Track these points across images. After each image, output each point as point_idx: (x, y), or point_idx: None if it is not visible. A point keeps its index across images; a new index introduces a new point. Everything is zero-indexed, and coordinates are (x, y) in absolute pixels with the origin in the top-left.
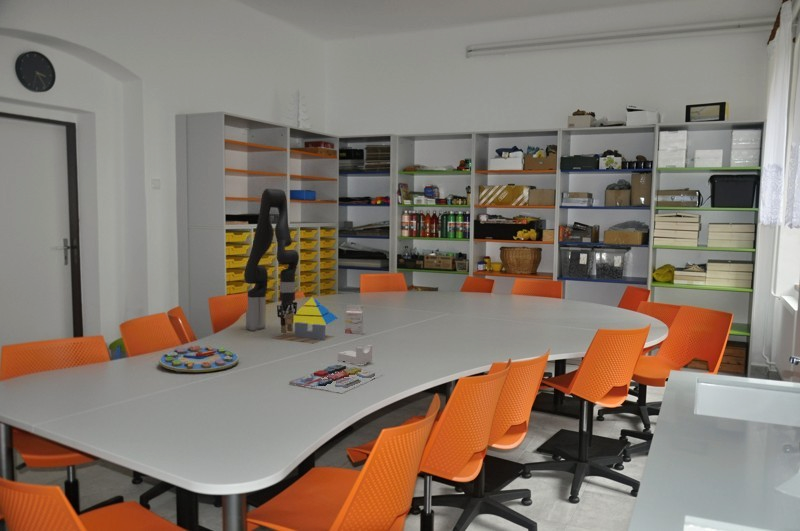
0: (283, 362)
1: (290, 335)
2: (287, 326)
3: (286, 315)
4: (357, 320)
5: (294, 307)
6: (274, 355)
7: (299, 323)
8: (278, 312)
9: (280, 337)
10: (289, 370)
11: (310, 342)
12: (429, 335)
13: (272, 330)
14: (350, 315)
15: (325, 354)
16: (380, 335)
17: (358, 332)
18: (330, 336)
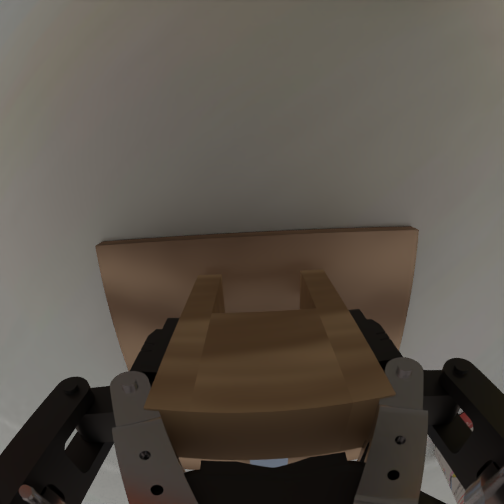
0: (5, 432)
1: (274, 305)
2: (309, 292)
3: (197, 449)
4: (454, 488)
5: (469, 470)
6: (3, 399)
7: (250, 462)
8: (35, 438)
9: (164, 289)
10: (2, 448)
11: (180, 458)
12: (444, 495)
13: (415, 29)
14: (464, 493)
15: (119, 491)
16: (438, 471)
17: (438, 457)
18: (352, 452)
